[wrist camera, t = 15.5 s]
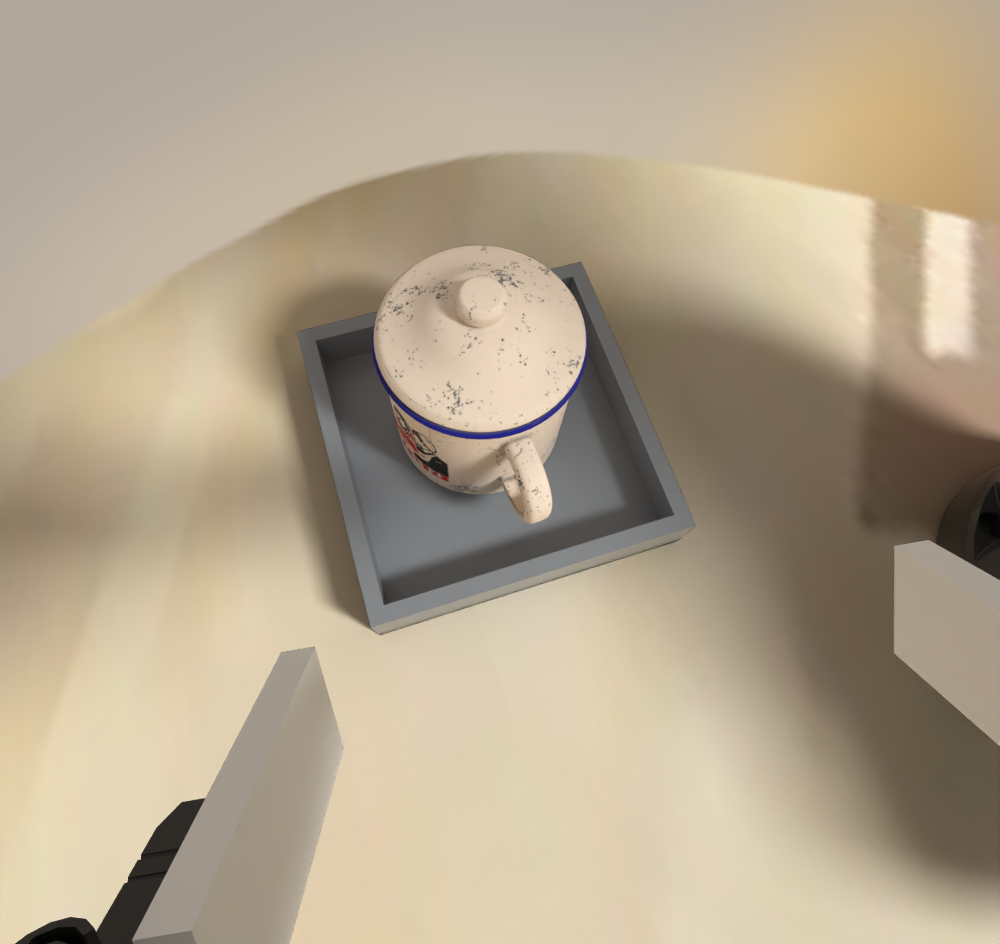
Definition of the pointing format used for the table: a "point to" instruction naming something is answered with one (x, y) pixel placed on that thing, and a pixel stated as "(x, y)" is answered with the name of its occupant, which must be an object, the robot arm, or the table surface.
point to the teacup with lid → (481, 369)
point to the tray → (490, 517)
